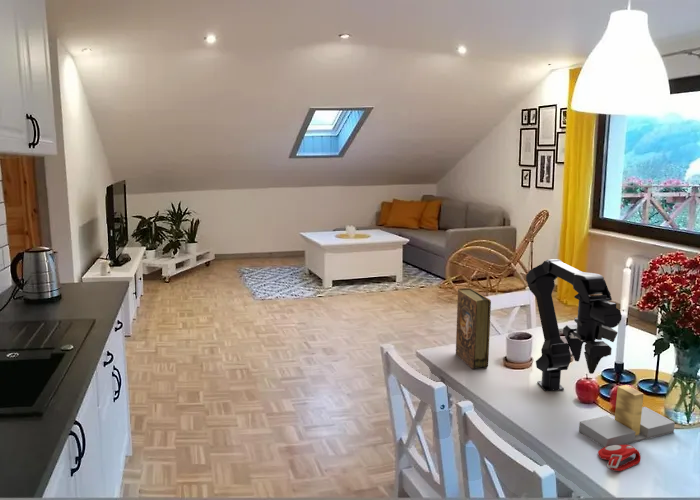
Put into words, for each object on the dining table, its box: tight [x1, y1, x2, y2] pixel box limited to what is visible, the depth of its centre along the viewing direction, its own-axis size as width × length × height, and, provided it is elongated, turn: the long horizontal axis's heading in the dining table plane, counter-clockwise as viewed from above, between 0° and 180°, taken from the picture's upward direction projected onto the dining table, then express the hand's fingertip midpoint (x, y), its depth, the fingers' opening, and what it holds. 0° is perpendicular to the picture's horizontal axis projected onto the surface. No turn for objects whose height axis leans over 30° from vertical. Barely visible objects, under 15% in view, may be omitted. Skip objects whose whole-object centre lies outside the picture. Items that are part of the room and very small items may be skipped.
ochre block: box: [614, 384, 644, 435], centre depth 162 cm, size 6×3×12 cm, turn 21°
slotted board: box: [578, 406, 676, 448], centre depth 163 cm, size 10×24×3 cm, turn 111°
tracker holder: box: [597, 444, 641, 472], centre depth 148 cm, size 12×4×10 cm
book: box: [455, 287, 492, 370], centre depth 211 cm, size 16×6×25 cm, turn 14°
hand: (583, 367), depth 175 cm, fingers open, 9 cm apart
